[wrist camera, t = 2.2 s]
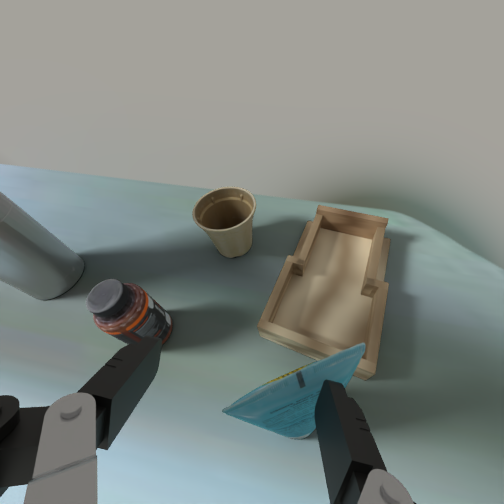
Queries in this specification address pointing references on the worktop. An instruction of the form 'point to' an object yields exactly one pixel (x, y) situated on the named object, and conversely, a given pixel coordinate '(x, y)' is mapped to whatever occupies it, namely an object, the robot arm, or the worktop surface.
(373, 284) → the keyhole tray
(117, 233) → the worktop surface
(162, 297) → the worktop surface
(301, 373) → the tube
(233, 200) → the flower pot
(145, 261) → the worktop surface
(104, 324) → the supplement bottle
